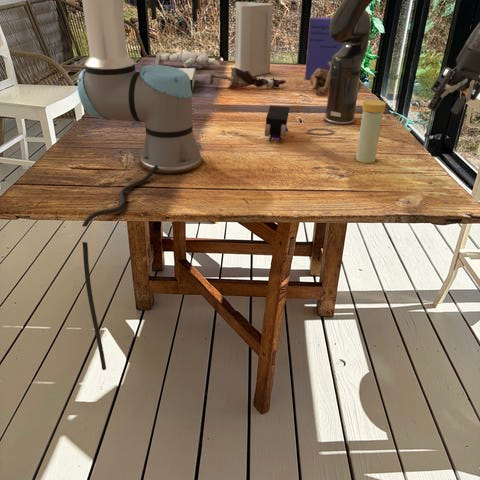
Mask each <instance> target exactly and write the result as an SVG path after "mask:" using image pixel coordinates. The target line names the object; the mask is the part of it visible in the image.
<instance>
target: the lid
mask: <svg viewBox="0 0 480 480" xmlns="http://www.w3.org/2000/svg"><path fill="white" fill-rule="evenodd" d="M386 106H387V103H386V101H384V100H380V99H365V100H363V101H362V107H361V109H362V111H363V110H364V111H367V112H372V113H380V112H383V113H384V112H385V111H386Z"/></svg>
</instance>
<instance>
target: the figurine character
mask: <svg viewBox="0 0 480 480" xmlns="http://www.w3.org/2000/svg"><path fill="white" fill-rule="evenodd" d="M289 113H290V107H289V106H282V105H281V106H280V105H269V109H268V111H267V115H266V118H265V129H264V137H269V138H268V142H269V143H272V139H275V140H276V139H278V143H281V142H282V139H283V138H285V137H286V134H287V133H288V132H289V129H288V126H287V125H288V119H289Z"/></svg>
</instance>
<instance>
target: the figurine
mask: <svg viewBox="0 0 480 480" xmlns="http://www.w3.org/2000/svg"><path fill="white" fill-rule="evenodd" d="M230 69H231V72H230V73H231V74H230V76H229V75H225V74H213V73H211V74H210V78H209V85H212V84H213V83H214V79H215V78H216V79H223V80H227V81H229V84H228V88H229V89H241V88H247V87H249V86H255V87H256V88H262V87H268V88H271V89H273V88H280V86H281V85H284V84H286V83H287V80H285V79H275V78H274V77H272V78H265V77H262V78H261V77H257V76H252V75H251V73H250V72H249V71H245V72H244V71H242V70H240V69H237V68H235V67H232V66H231V67H230Z"/></svg>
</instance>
